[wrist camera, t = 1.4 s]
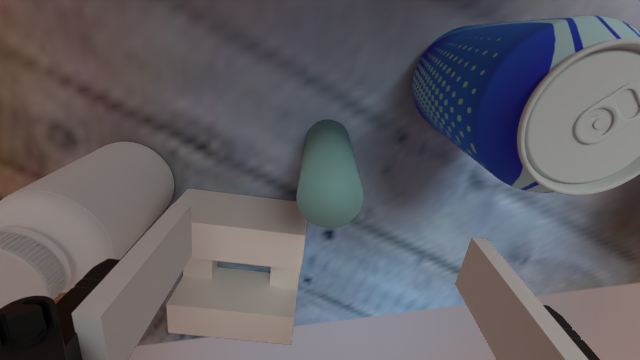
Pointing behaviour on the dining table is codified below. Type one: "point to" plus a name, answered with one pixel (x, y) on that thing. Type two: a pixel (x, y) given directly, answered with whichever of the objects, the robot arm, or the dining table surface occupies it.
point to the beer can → (539, 100)
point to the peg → (329, 177)
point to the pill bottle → (79, 218)
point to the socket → (235, 284)
